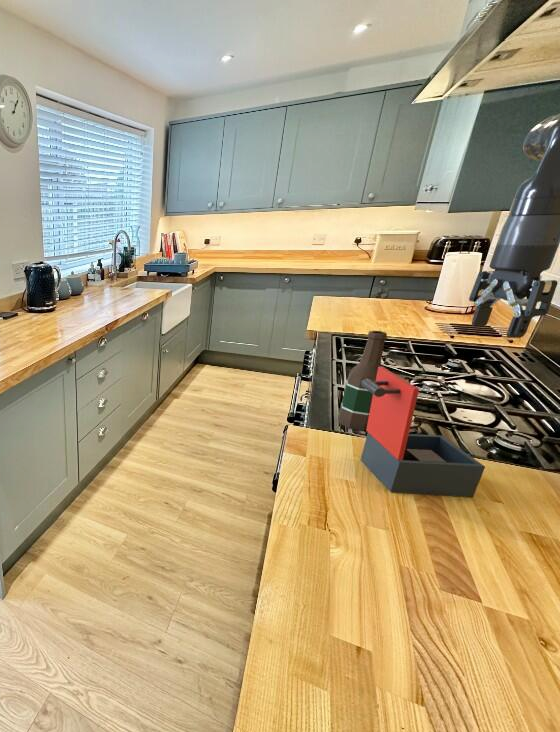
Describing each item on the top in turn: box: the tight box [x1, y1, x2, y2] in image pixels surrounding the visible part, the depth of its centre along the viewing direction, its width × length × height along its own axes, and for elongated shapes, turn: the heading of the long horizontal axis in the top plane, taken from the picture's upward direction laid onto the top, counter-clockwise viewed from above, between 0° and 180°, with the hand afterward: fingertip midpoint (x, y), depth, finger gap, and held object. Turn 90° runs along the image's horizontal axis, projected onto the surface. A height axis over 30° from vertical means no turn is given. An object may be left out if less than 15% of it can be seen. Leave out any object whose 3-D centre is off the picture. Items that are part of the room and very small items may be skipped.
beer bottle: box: [338, 330, 388, 432], centre depth 101 cm, size 8×8×24 cm
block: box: [403, 449, 446, 462], centre depth 83 cm, size 4×4×4 cm
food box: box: [360, 432, 486, 498], centre depth 83 cm, size 14×12×7 cm
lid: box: [361, 366, 420, 460], centre depth 80 cm, size 14×12×5 cm
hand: (495, 331), depth 79 cm, fingers open, 8 cm apart
